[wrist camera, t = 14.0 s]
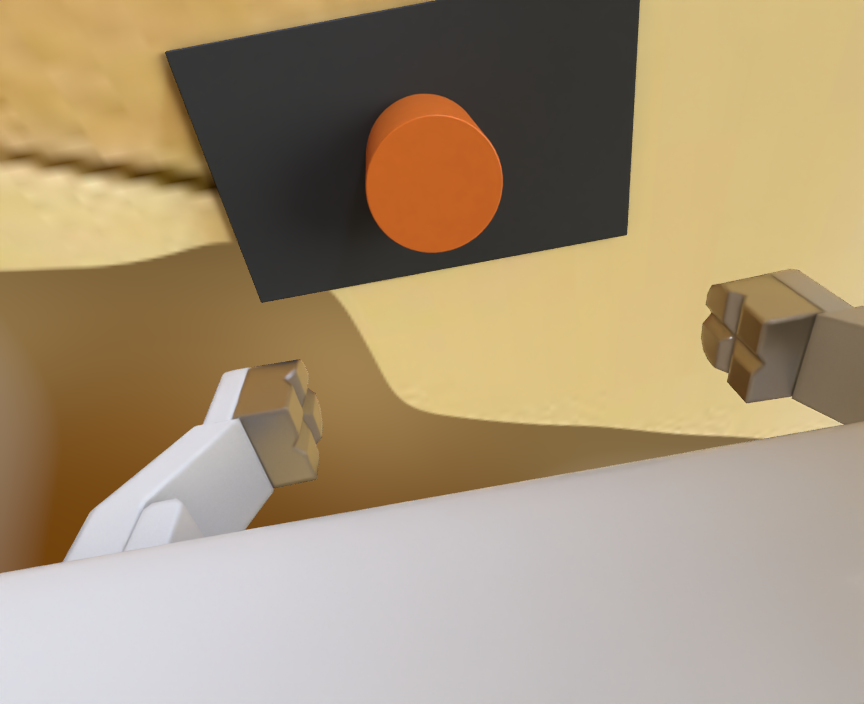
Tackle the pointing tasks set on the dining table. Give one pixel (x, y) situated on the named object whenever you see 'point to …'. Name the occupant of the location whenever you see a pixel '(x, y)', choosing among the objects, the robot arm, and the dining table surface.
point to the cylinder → (431, 174)
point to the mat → (391, 81)
